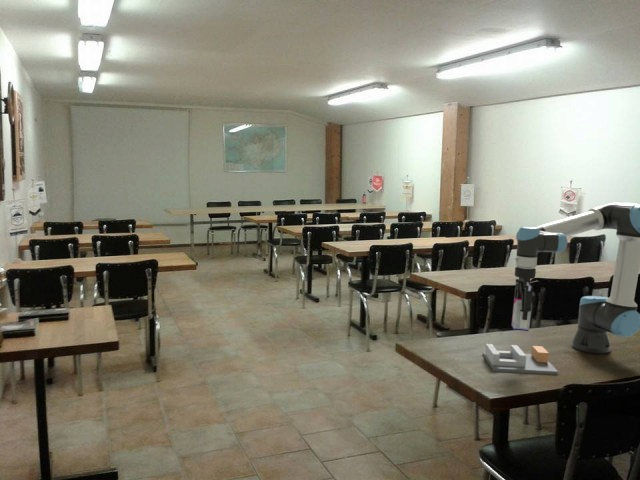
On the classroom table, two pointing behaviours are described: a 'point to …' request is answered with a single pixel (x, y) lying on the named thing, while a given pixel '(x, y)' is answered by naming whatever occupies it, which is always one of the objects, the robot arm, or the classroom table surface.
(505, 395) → the classroom table surface
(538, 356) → the block
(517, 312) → the supplement box
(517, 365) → the block
